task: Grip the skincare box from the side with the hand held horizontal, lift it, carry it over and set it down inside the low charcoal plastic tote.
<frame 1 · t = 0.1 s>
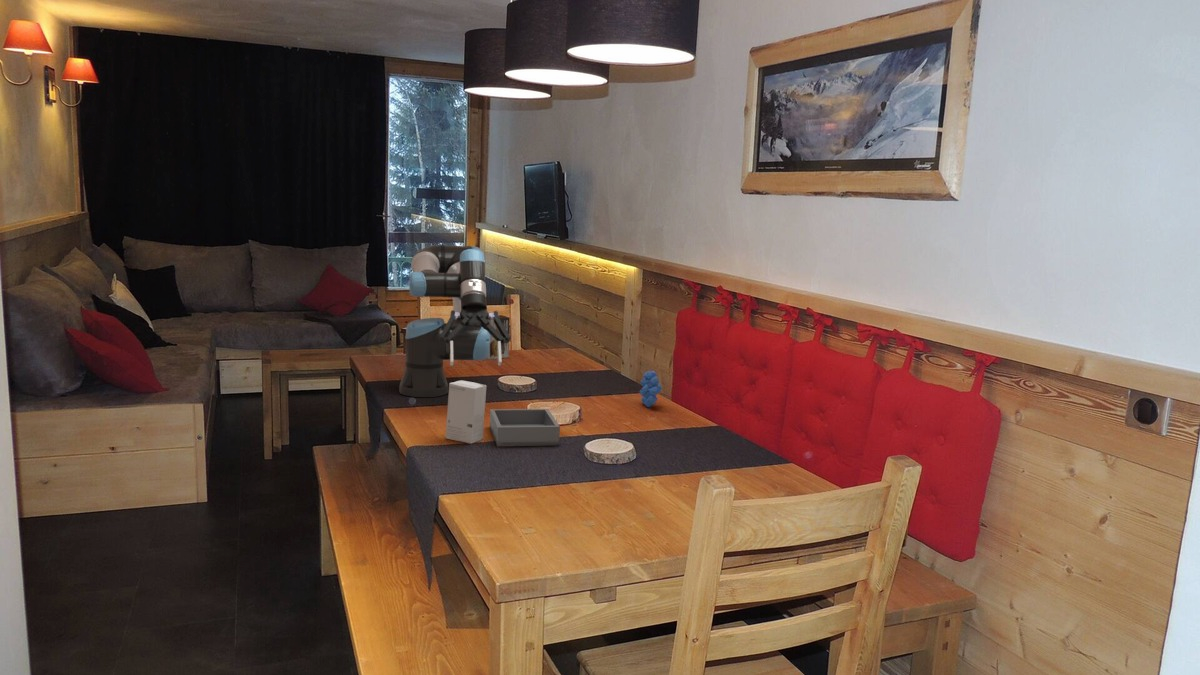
hand: (476, 363, 238), 15 cm above the table, tool tilted 35°, fingers open, 13 cm apart
grapes: (651, 407, 261), on the table
tote: (523, 435, 223), on the table
coffee box: (494, 357, 328), on the table
skincare box: (465, 439, 217), on the table
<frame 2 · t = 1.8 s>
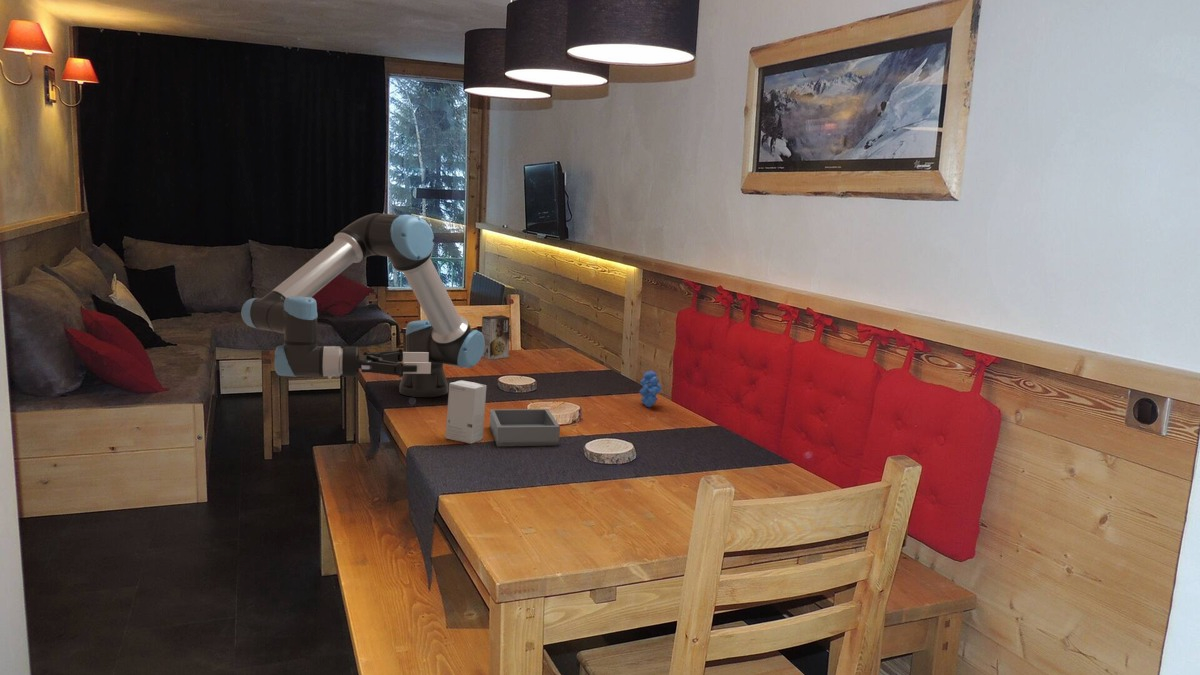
hand: (429, 362, 212), 20 cm above the table, tool horizontal, fingers open, 13 cm apart
nothing on the table moved.
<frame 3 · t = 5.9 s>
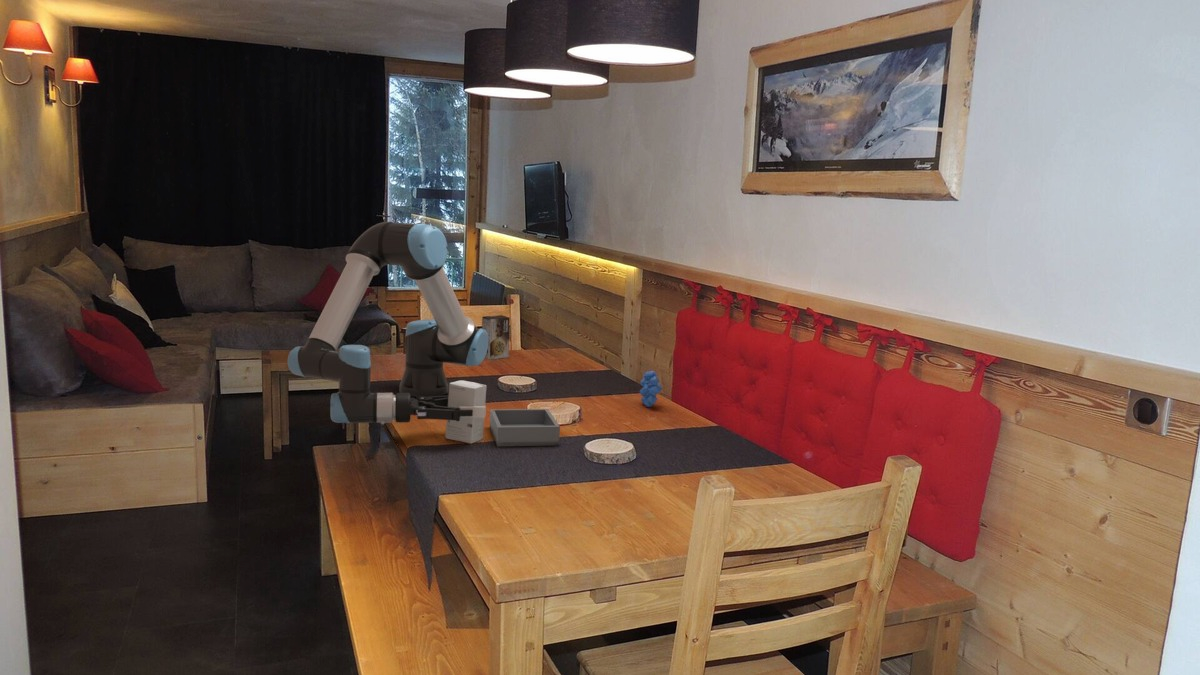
hand: (483, 407, 217), 9 cm above the table, tool horizontal, fingers closed on skincare box, 9 cm apart
skincare box: (465, 439, 217), on the table, touching gripper
everything else where it was.
when the fingers open (11 cm above the table, at t = 10.5 s): skincare box drops 1 cm, resting on tote.
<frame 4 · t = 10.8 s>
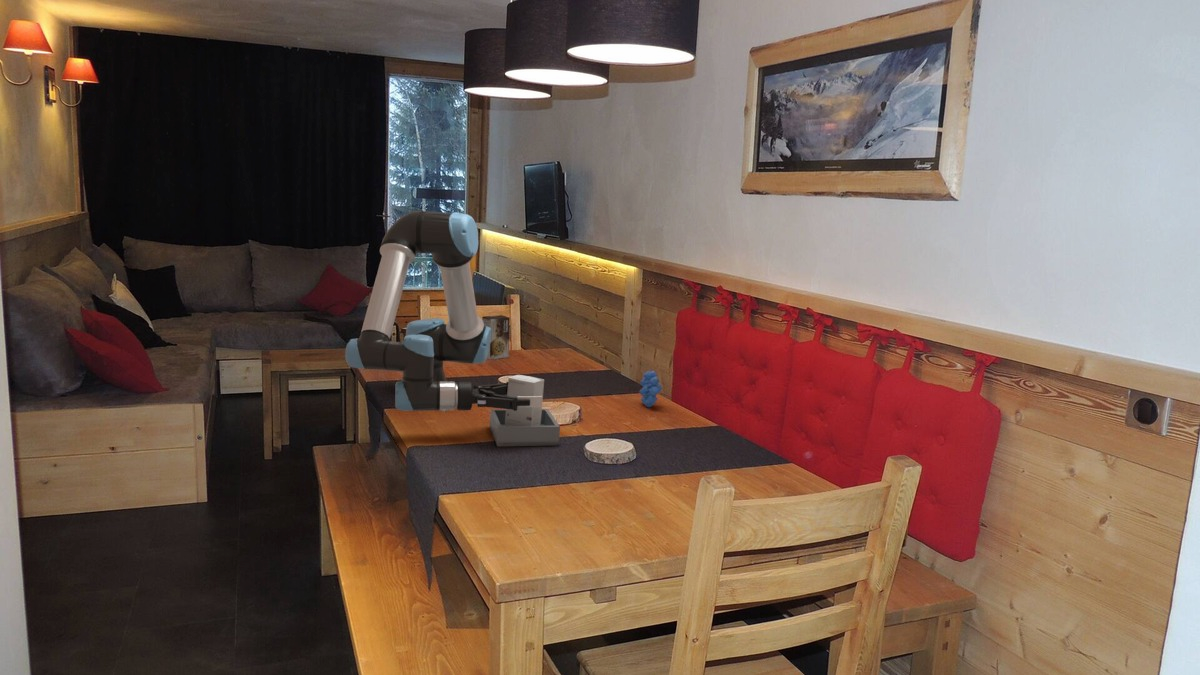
hand: (538, 395, 222), 11 cm above the table, tool horizontal, fingers open, 12 cm apart
skincare box: (523, 432, 223), point 1 cm above the table, touching tote
everything else where it was.
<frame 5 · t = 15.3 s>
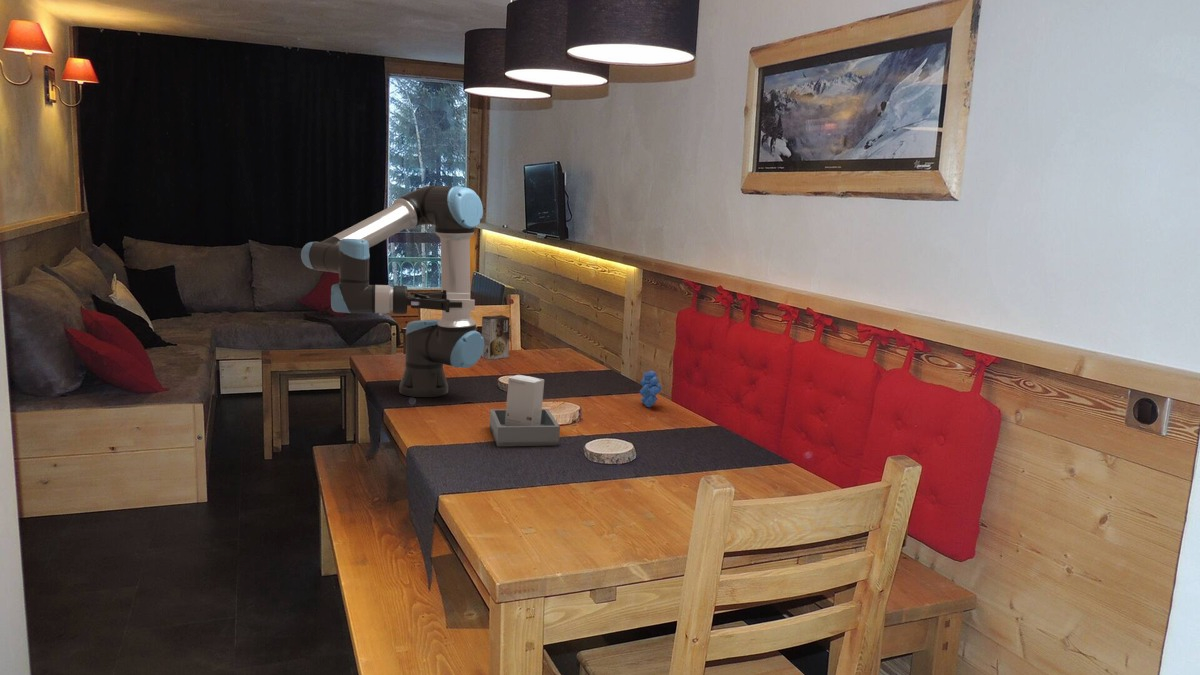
hand: (472, 301, 228), 34 cm above the table, tool horizontal, fingers open, 13 cm apart
nothing on the table moved.
at the end: skincare box inside the target area on the tote (0.2 cm from its centre), point 0.8 cm above the tote's base; the gripper is holding nothing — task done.
